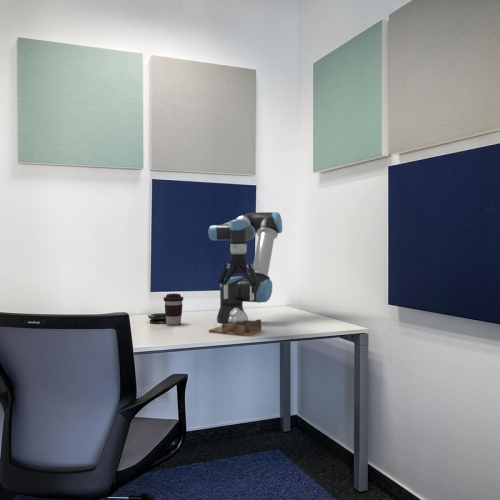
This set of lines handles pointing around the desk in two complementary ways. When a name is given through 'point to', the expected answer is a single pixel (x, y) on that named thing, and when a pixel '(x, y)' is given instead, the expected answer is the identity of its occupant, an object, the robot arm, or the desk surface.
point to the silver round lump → (238, 317)
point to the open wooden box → (239, 328)
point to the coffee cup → (173, 308)
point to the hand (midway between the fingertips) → (238, 299)
